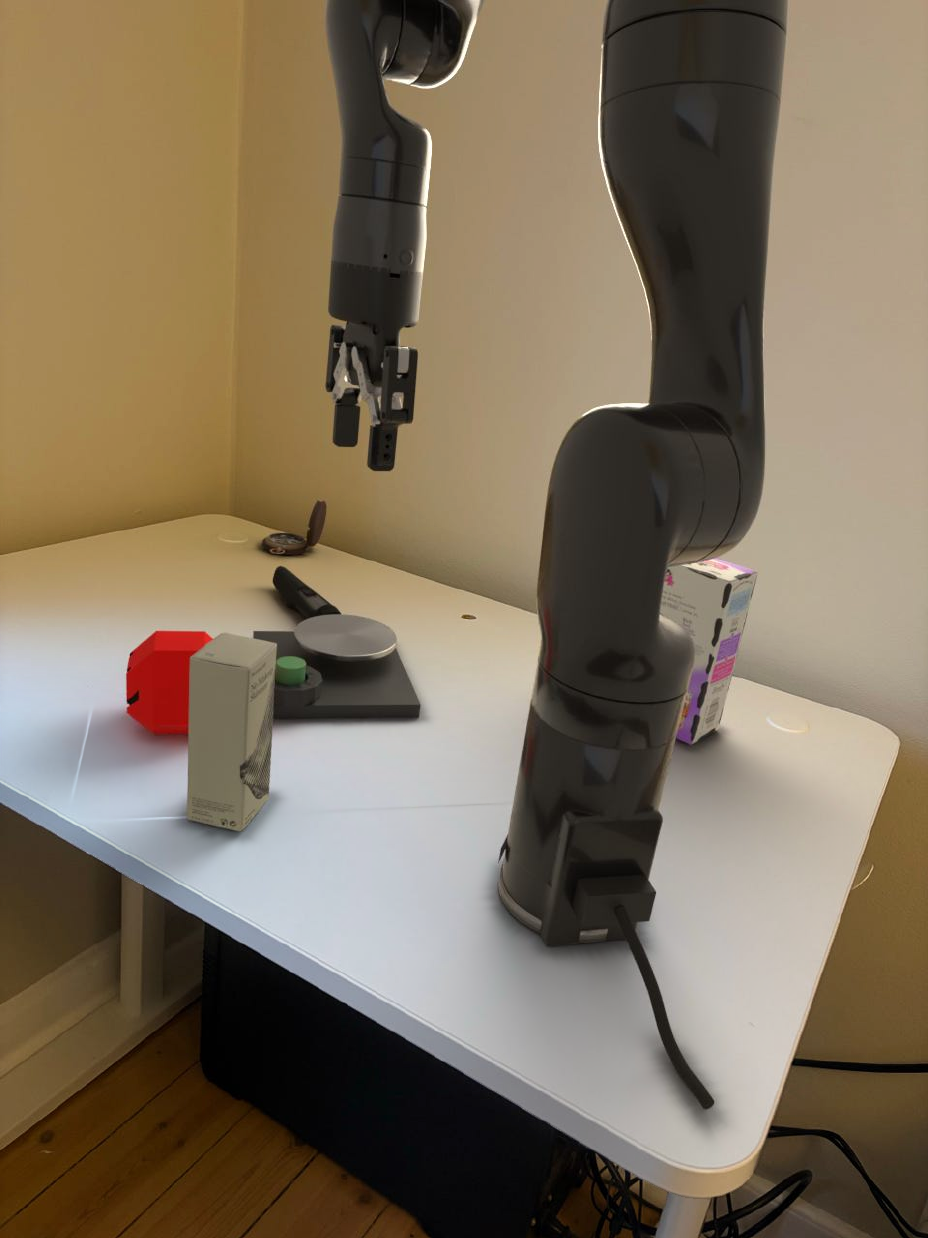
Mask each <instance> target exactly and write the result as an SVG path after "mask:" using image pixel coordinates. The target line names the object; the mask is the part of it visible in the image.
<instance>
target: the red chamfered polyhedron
mask: <svg viewBox="0 0 928 1238" xmlns="http://www.w3.org/2000/svg"><path fill="white" fill-rule="evenodd" d="M213 639H214V638H213V637H212V636H211V635H209V633H207V632H206V631H204V630H155V631H154V632H153V633H152V634H151V635H149V636H148V637H146V639H145V640H143V642H141V643H140V644H139V645H138V646H137V647H136V648H134V649H133V650H132V651H131V652H130V653H129V657H128V660H127V661H128V662H127V667H126V672H125V691H126V692H125V694H126V699H125V700H126V705H128V706H127V707H126V714H127V715H128V716H130V717H131V718H132V719H133V720H135V722H137V723H139V725H141V726H142V727H143V728H145V729H146V730H147V731H148V732H149V733H150V734H152V735H154V736H155V735H156V736H159V735H161V736H162V735H163V736H164V735H165V736H166V735H188V733H189V677H190V657H191V656H193V655H194V654H195V653H196V652H198V651H199V650H200V649H201V648H203V647H204V646H205V645H206V644H207V643H208V642H210V641H211V640H213Z"/></svg>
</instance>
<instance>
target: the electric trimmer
mask: <svg viewBox="0 0 928 1238" xmlns="http://www.w3.org/2000/svg"><path fill="white" fill-rule="evenodd" d="M272 584H273V586H274V588H275V589H276V591H277V593H278V594H279V596H280V597H281V599H282V601H283V602H284V604H285V605H286V606H287V607H288V608H290V609H295V610H297V611H299V613H300V614H301V615H303V617H304V618H305V620H306V619H309V618H312V617H316V616H321V615H332V614H342V612H341V611H340V610H339V609H338V607H337V606H335V605H334V604H332V603H331V602H329V601H328V600H327V599H325V598H324V597H323V596H322V595H321V594H320V593H318V592H317V591H316V590H314V589H313V588H311V587H310V586H309V585H307V584H306V583H305V582H304V581H302V580H301V579H300V578H299V577H297V576H296V575H295V574H294V573H293V572H292V571H290V570H289V569H288V568H287V567H285V566H284V565H283V566H282V565H279V566H277V567H276V568H275V570H274V573H273V577H272Z"/></svg>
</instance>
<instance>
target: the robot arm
mask: <svg viewBox="0 0 928 1238" xmlns="http://www.w3.org/2000/svg"><path fill="white" fill-rule="evenodd" d="M788 1H789V0H607V2H606V5H605V11H604V17H603V25H602V35H601V37H602V39H601V52H600V53H601V54H600V75H599V77H600V78H599V98H598V99H599V100H598V101H599V102H598V126H597V127H598V128H597V129H598V149H599V156H600V161H601V167H602V171H603V175H604V178H605V182H606V186H607V190H608V193H609V196H610V199H611V202H612V204H613V208H614V210H615V211H614V212H615V214H616V216H617V219H618V222H619V224H620V228H621V230H622V233H623V236H624V238H625V240H626V243H627V246H628V248H629V250H630V253H631V257H632V259H633V261H634V264H635V266H636V269H637V272H638V274H639V278H640V281H641V285H642V287H643V290H644V294H645V299H646V304H647V307H648V314H649V323H650V334H651V337H650V338H651V361H650V363H651V364H650V383H649V395H648V402H647V403H615V404H605V405H602V406H597V407H594V408H592V409H590V410H588V411H587V412H584V413H583V414H582V415H581V416H579V417H578V418H577V419H576V420H575V421H574V423H573V424H572V425H571V426H570V427H569V428H568V430H567V431H566V433H565V435H564V436H563V438H562V440H561V442H560V445H559V447H558V450H557V452H556V455H555V458H554V461H553V464H552V468H551V471H550V477H549V482H548V487H547V495H546V502H545V511H544V517H543V530H542V538H541V547H540V556H539V557H540V559H539V566H538V574H537V582H536V593H535V594H536V612H537V618H538V625H539V630H540V644H539V651H538V657H537V663H536V669H535V675H534V680H533V685H532V690H531V691H532V692H531V697H530V701H529V707H528V712H527V713H528V714H527V719H526V726H525V732H524V736H523V743H522V749H521V755H520V759H519V760H520V761H519V766H518V772H517V778H516V785H515V790H514V796H513V802H512V807H511V814H510V820H509V826H508V832H507V835H506V837H505V839H504V840H503V843H502V845H501V847H500V850H499V856H498V862H497V864H499V863H500V862H501V859H502V857H503V855H504V857H503V861H502V863H501V867H500V870H499V875H498V876H499V877H498V885H497V887H498V893H499V896H500V899H501V901H502V903H503V905H504V906H505V908H506V909H507V911H509V913H510V914H511V915H512V916H513V917H514V918H515V919H516V920H517V921H519V922H520V923H522V924H523V925H524V926H526V927H528V928H529V929H531V930H533V931H534V932H536V933H538V934H539V935H540V936H541V938H542V940H543V942H544V944H545V945H547V946H550V947H552V946H564V945H574V944H575V945H577V944H591V943H599V942H609V941H622V940H626V943H627V945H628V947H629V949H630V951H631V954H632V956H633V959H634V961H635V964H636V965H637V968H638V971H639V973H640V975H641V978H642V980H643V983H644V986H645V989H646V992H647V994H648V997H649V1002H650V1005H651V1009H652V1012H653V1017H654V1020H655V1024H656V1028H657V1030H658V1034H659V1037H660V1040H661V1042H662V1044H663V1047H664V1049H665V1052H666V1054H667V1056H668V1058H669V1060H670V1062H671V1064H672V1066H673V1067H674V1069H675V1070H676V1072H677V1074H678V1075H679V1077H680V1078H681V1079H682V1081H683V1082H684V1084H685V1085H686V1086H687V1088H688V1089H689V1091H690V1092H691V1093H692V1095H693V1096H694V1097H695V1099H696V1100H697V1102H698V1103H699V1104H700V1106H701V1107H702V1109H703V1110H709V1109H711V1108H713V1106H714V1105H715V1100H714V1098H713V1096H712V1095H711V1093H710V1092H709V1091H708V1090H707V1088H706V1087H705V1085H704V1084H703V1083H702V1082H701V1080H700V1079H699V1078H698V1077H697V1075H696V1074H695V1072H694V1071H693V1070H692V1068H691V1066H689V1064H688V1062H687V1060H686V1059H685V1057H684V1055H683V1054H682V1051H681V1050H680V1048H679V1045H678V1043H677V1041H676V1038H675V1036H674V1032H673V1031H672V1027H671V1024H670V1020H669V1018H668V1013H667V1010H666V1006H665V1002H664V999H663V996H662V993H661V989H660V986H659V983H658V981H657V977H656V975H655V973H654V970H653V967H652V965H651V963H650V961H649V958H648V956H647V953H646V951H645V949H644V947H643V944H642V943H641V940H640V938H639V936H638V933H637V929H638V924H639V923H643V922H650V919H651V916H652V911H653V908H654V903H655V901H656V900H655V899H656V896H657V890H656V889H655V888H654V886H653V884H652V883H651V881H650V875H651V871H652V867H653V862H654V859H655V854H656V851H657V847H658V843H659V839H660V835H661V831H662V826H663V821H664V817H663V814H662V813H661V812H660V811H659V809H660V805H661V801H662V797H663V793H664V788H665V784H666V780H667V776H668V772H669V768H670V763H671V759H672V755H673V750H674V748H675V743H676V740H677V739H676V735H677V732H678V728H679V724H680V719H681V715H682V711H683V707H684V703H685V699H686V695H687V690H688V686H689V683H690V678H691V674H692V670H693V666H694V661H695V645H694V642H693V640H692V638H691V636H690V635H689V633H688V632H687V631H686V630H685V629H684V628H682V627H681V626H680V625H679V624H677V623H676V622H674V621H672V620H671V619H669V618H667V617H665V616H663V615H661V614H660V608H661V601H662V594H663V587H664V580H665V575H666V569H667V567H672V566H679V565H686V564H691V563H696V562H702V561H707V560H711V559H715V558H719V557H722V556H724V555H726V554H728V553H729V552H731V551H732V550H734V549H735V548H736V547H737V546H738V545H739V544H740V543H741V542H742V541H743V540H744V538H745V537H746V536H747V534H748V532H749V531H750V529H751V527H752V526H753V524H754V522H755V520H756V517H757V514H758V512H759V508H760V505H761V500H762V496H763V490H764V485H765V483H764V482H765V470H766V409H765V408H766V407H765V405H766V403H765V363H764V362H765V359H764V356H765V355H764V326H765V325H764V321H765V319H764V318H765V295H766V279H767V278H766V277H767V267H768V266H767V265H768V253H769V234H770V219H771V203H772V188H773V187H772V186H773V174H774V164H775V163H774V162H775V155H776V154H775V153H776V144H777V136H778V130H779V129H778V128H779V121H780V111H781V103H782V93H783V92H782V91H783V79H784V68H785V58H786V57H785V56H786V55H785V54H786V46H787V45H786V43H787V31H788V4H789V2H788ZM484 3H485V0H326V5H325V13H324V14H325V16H324V22H325V23H324V24H325V37H326V45H327V51H328V55H329V61H330V65H331V71H332V76H333V83H334V88H335V94H336V101H337V110H338V116H339V126H340V133H341V153H340V167H339V180H338V181H339V182H338V183H339V184H338V198H337V204H336V210H335V215H334V220H333V227H332V243H331V256H330V257H331V258H330V270H329V271H330V273H329V287H328V288H329V289H328V304H327V305H328V306H327V312H328V314H329V316H330V317H331V318H333V319H335V320H338V321H342V322H346V323H345V325H342V324H341V325H340V324H331V325H330V329H329V340H328V349H327V350H328V351H327V352H328V353H327V364H326V375H325V385H324V387H325V390H326V393H331V401H332V403H333V404H334V412H333V413H334V414H333V427H332V443H333V445H335V446H336V447H339V448H354V447H356V446H357V445H358V443H359V430H360V419H361V406H360V404H361V402H362V401H364V402H365V403H367V406H368V411H369V418H370V423H371V425H370V426H369V436H368V448H367V461H366V465H367V468H368V469H370V470H371V471H373V472H391V471H393V470H394V468H395V464H396V463H395V462H396V454H397V443H398V433H399V431H398V430H399V427H403V425H404V424H405V425H411V424H412V423H413V421H414V411H415V399H416V387H417V376H418V375H417V372H418V361H419V360H418V359H419V352H418V351H419V350H418V349H417V347H411V346H405V345H404V346H403V345H401V335H400V334H401V330H402V329H403V328H405V329H410V328H413V327H416V326H417V324H418V323H419V319H420V318H419V317H420V309H421V298H422V286H423V280H424V279H423V277H424V267H425V257H426V247H427V204H428V194H429V184H430V174H431V164H432V154H433V153H432V151H433V149H432V148H433V142H432V137H431V134H430V132H429V131H428V130H427V128H426V127H425V126H423V125H422V124H420V123H419V122H417V121H416V120H413V119H412V118H409V117H408V116H405V115H404V114H402V113H400V112H399V111H398V110H397V109H395V108H394V107H393V105H392V104H391V102H390V99H389V96H388V95H387V94H388V93H387V90H386V87H385V83H384V81H388V82H392V83H396V84H399V85H405V86H408V87H412V88H417V89H434V88H436V87H439V86H441V85H443V84H444V83H447V82H448V81H449V80H450V79H451V78H453V77H454V76H455V75H456V74H457V73H458V71H459V69H460V68H461V66H462V64H463V61H464V59H465V56H466V53H467V50H468V47H469V44H470V40H471V37H472V34H473V32H474V29H475V26H476V23H477V21H478V18H479V16H480V13H481V11H482V8H483V5H484ZM401 399H402V400H401Z"/></svg>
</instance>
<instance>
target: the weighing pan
mask: <svg viewBox="0 0 928 1238" xmlns="http://www.w3.org/2000/svg"><path fill="white" fill-rule="evenodd" d="M293 631H294V640H295V642H296V644H297V645H298V646H299V647H300V648H302V649H303V650H305V651H306V652H308V653H311V654H313V655H316V656H319V657H322V658H326V659H331V660H337V661H352V662H354V661H368V660H374V659H378V658H381V657H384V656H386V655H388V654H390V653H391V652H392V651H393V650H394V649H395V648H396V649H397V642H398V637H397V634H396V632H395V631H394V630H393V629H392V628H391V627H389V626H388V625H386V624H385V623H383V622H380V621H378V620H375V619H372V618H369V617H364V616H361V615H360V616H359V615H352V614H342V613H341V614H332V615H321V616H316V617H312V618H309V619H306V618H305V619H304V620H302V621H301V622H299V623H298V624H297V625H296V626H295V627H294V630H293Z"/></svg>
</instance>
